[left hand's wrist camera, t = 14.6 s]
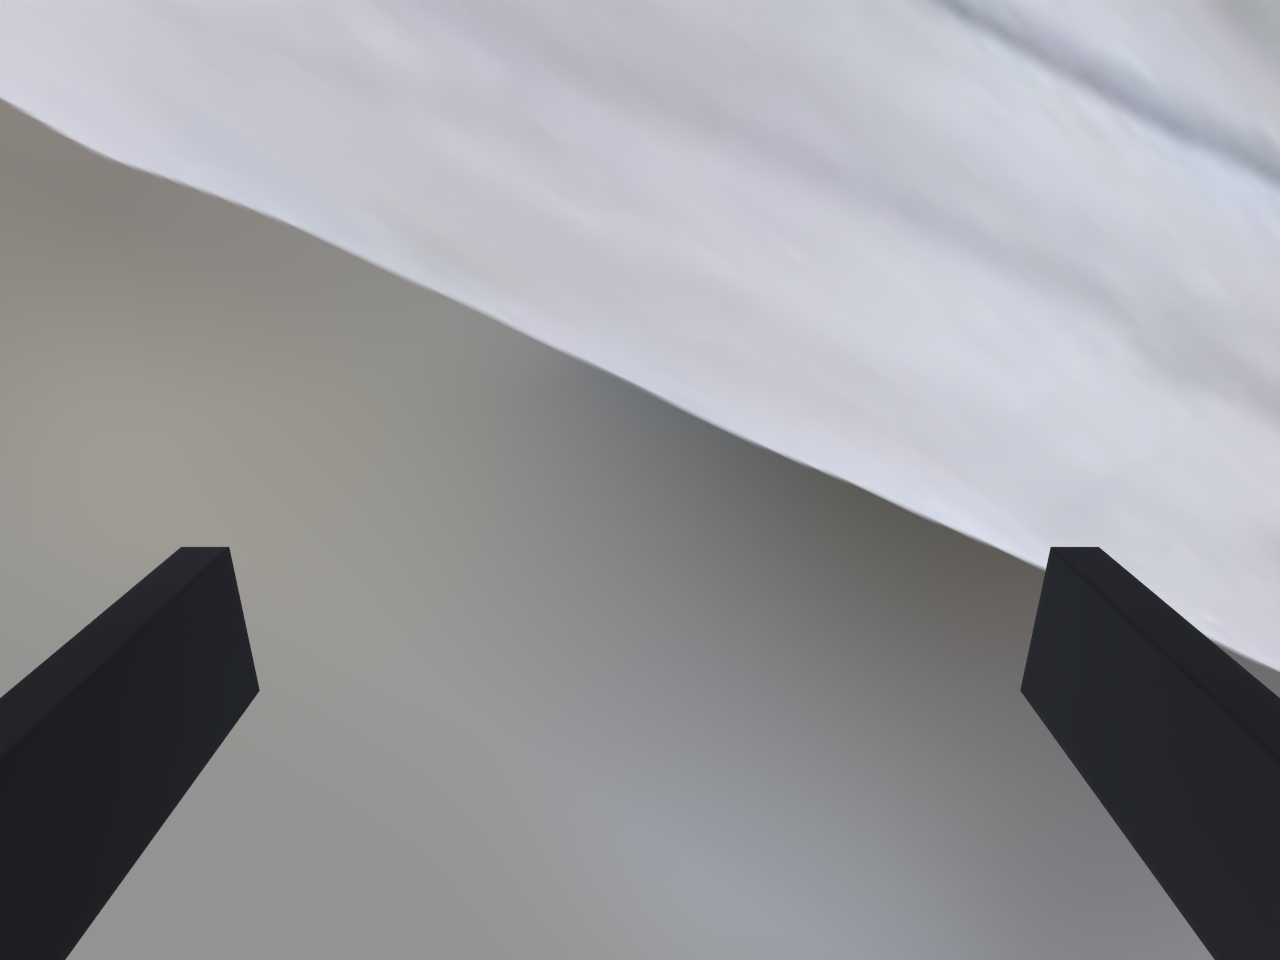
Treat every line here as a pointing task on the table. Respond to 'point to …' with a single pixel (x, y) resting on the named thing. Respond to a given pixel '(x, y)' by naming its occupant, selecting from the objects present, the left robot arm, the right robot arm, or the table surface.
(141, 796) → the left robot arm
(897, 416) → the table surface
